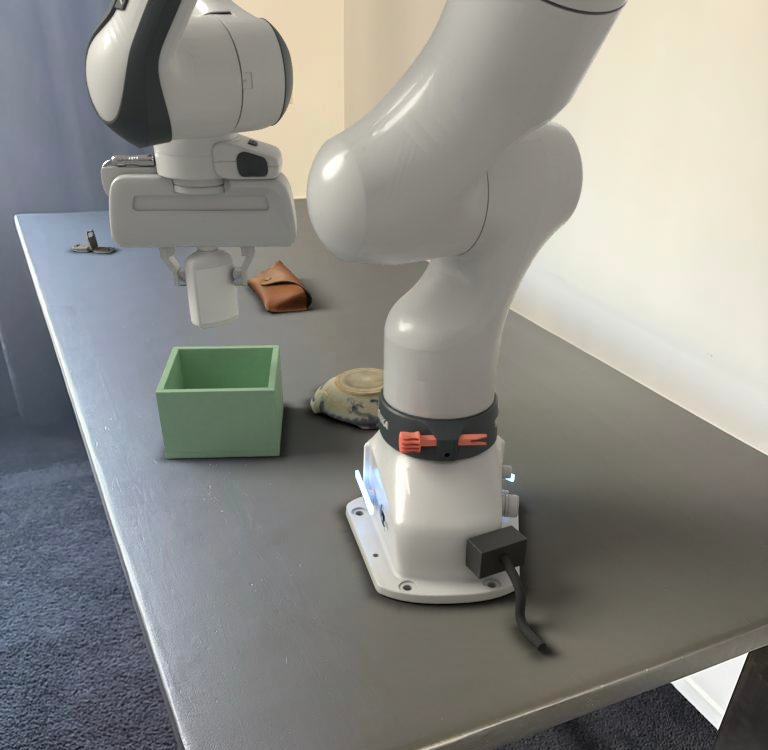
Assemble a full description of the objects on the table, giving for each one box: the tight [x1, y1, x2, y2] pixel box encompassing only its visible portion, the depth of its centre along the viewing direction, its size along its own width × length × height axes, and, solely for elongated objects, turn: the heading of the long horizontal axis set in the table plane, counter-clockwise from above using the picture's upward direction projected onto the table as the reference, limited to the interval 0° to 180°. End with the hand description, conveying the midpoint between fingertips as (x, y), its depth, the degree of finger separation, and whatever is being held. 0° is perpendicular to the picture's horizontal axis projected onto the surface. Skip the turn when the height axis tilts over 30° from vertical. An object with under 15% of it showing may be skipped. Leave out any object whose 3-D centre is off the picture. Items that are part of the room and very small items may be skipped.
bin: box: [154, 344, 284, 460], centre depth 99 cm, size 14×14×9 cm
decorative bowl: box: [309, 367, 384, 430], centre depth 108 cm, size 15×4×15 cm
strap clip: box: [71, 228, 115, 254], centre depth 166 cm, size 8×3×4 cm, turn 81°
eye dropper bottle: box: [183, 247, 240, 329], centre depth 90 cm, size 4×6×12 cm
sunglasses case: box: [247, 259, 313, 313], centre depth 144 cm, size 18×7×7 cm, turn 22°
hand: (212, 284), depth 91 cm, fingers closed on eye dropper bottle, 5 cm apart
